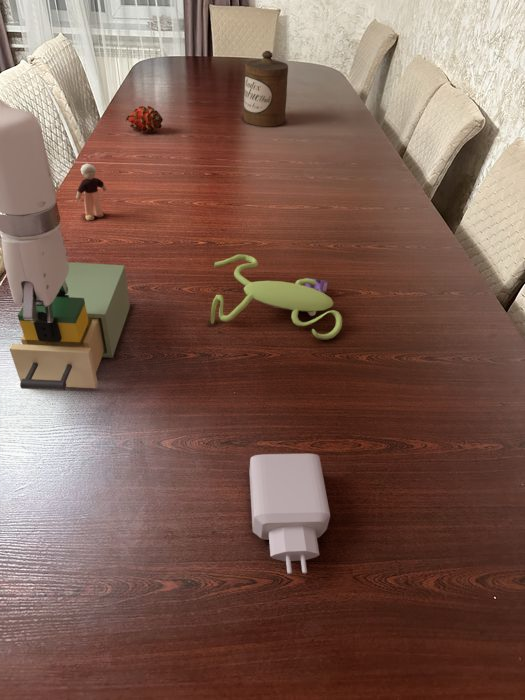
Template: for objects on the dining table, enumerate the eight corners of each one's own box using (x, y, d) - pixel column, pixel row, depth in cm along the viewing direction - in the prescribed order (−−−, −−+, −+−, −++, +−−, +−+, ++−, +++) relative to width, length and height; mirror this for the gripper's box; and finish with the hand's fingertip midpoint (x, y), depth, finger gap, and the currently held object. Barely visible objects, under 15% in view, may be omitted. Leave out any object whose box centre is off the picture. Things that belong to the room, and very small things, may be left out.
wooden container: (235, 118, 188) (236, 48, 173) (265, 111, 196) (269, 44, 182) (263, 129, 180) (267, 58, 166) (293, 122, 188) (299, 53, 174)
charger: (255, 585, 60) (249, 475, 71) (334, 582, 61) (315, 474, 72) (257, 565, 57) (250, 454, 68) (340, 562, 57) (320, 452, 69)
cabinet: (112, 357, 87) (105, 314, 81) (36, 354, 87) (23, 310, 81) (130, 306, 98) (124, 265, 93) (62, 303, 98) (53, 261, 92)
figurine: (219, 270, 110) (219, 247, 106) (345, 289, 107) (350, 266, 104) (194, 322, 96) (193, 297, 92) (338, 346, 93) (343, 321, 90)
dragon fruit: (166, 138, 172) (130, 141, 173) (166, 116, 174) (131, 119, 175) (159, 121, 164) (121, 124, 165) (159, 98, 166) (122, 101, 167)
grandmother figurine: (89, 224, 122) (80, 170, 114) (77, 219, 123) (68, 166, 115) (113, 212, 127) (106, 160, 119) (102, 208, 128) (94, 156, 120)
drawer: (87, 412, 77) (79, 376, 72) (9, 408, 76) (-5, 372, 72) (115, 333, 91) (110, 299, 86) (49, 330, 90) (40, 295, 86)
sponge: (24, 339, 76) (17, 315, 73) (36, 319, 80) (29, 294, 77) (80, 342, 76) (74, 318, 74) (88, 321, 80) (84, 297, 77)
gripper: (22, 186, 73) (49, 294, 84) (-32, 247, 60) (9, 365, 71) (76, 189, 73) (96, 297, 85) (34, 251, 60) (64, 368, 72)
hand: (56, 327), depth 78 cm, fingers closed on sponge, 5 cm apart
